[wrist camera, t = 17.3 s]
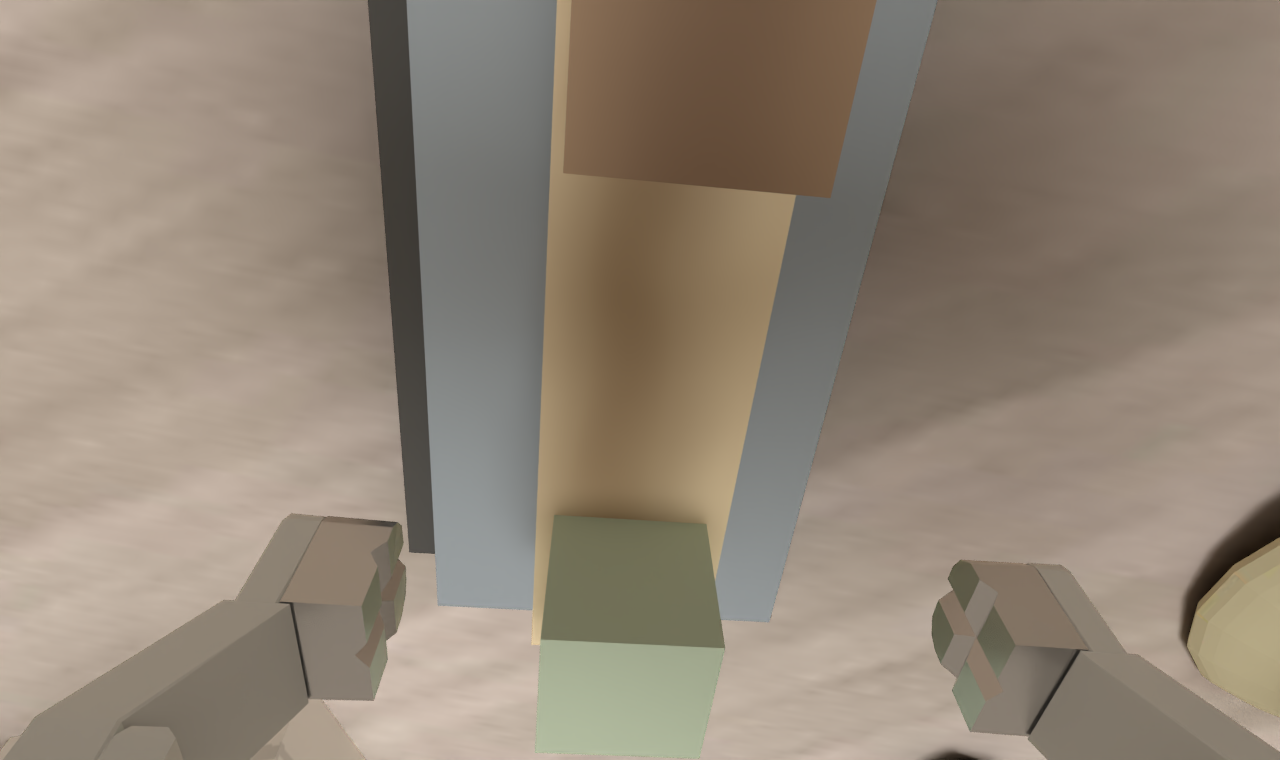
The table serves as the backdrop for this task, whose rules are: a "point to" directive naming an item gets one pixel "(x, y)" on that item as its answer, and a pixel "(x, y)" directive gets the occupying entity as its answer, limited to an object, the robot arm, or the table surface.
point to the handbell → (1242, 630)
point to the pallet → (648, 342)
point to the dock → (516, 280)
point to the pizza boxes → (297, 738)
